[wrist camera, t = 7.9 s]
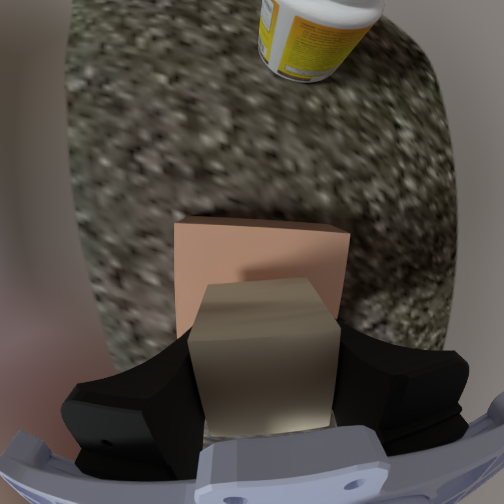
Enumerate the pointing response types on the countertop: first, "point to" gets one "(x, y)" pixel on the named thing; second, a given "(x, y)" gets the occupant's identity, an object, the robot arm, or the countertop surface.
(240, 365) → the metal block
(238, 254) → the terracotta box
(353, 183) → the countertop surface
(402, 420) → the robot arm
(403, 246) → the countertop surface
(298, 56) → the supplement bottle
